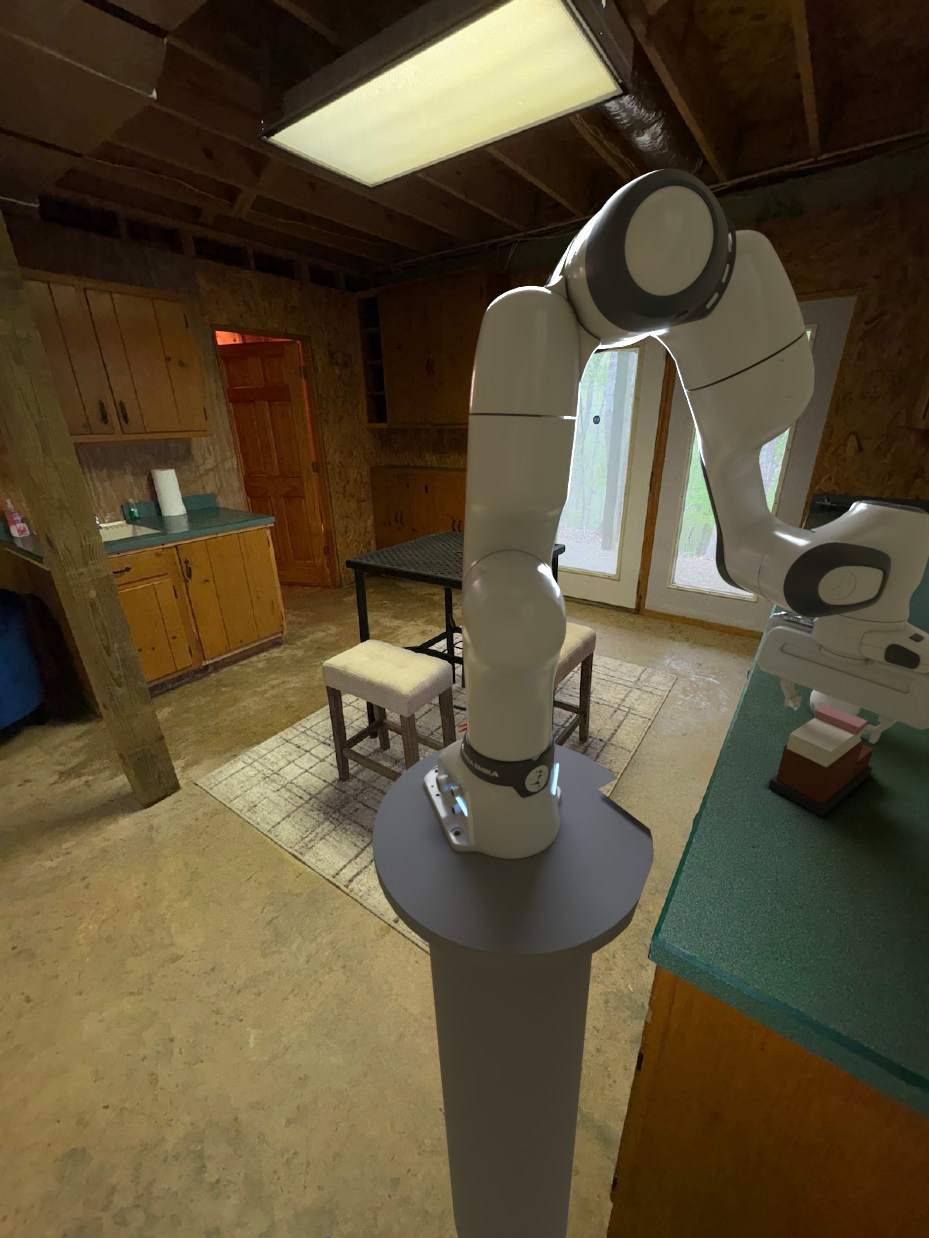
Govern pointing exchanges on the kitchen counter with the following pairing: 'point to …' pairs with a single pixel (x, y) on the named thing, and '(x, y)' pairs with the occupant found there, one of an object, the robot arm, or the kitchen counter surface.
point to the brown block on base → (821, 778)
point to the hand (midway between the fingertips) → (827, 723)
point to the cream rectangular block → (827, 735)
